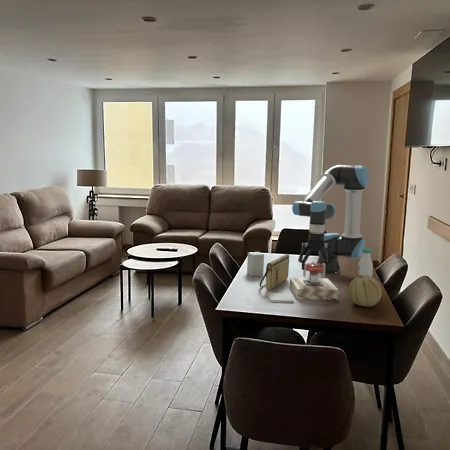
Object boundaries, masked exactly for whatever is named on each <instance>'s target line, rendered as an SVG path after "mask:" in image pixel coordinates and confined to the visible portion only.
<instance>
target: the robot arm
mask: <svg viewBox="0 0 450 450" xmlns="http://www.w3.org/2000/svg"><path fill="white" fill-rule="evenodd" d="M369 182H370V172H369V169H368V168H367V167H366V166H364V165H357V164H355V165H354V164H347V165H346V164H336V165H334V166H331V167H330V168H328V169H326V170H325V171H324V172H322V174H321V175H320V177H319V180H318V181H317V182H316V183H315V185H314V186H313V187H312V188H311V190H310V191H309V192H307V194H306V195H305V196H304V198H302V200H301V201H300V200H299V201H297V200H296V201H294V202H293V204H292V207H291V209H292V210H291V211H292V213H293V215H295V216H299V217H307V218H309V228H308V231H309V232H308V240H307V242H301V250H300V254H299V256H298V258H297V259H298V260H297V262H298V263H301V270H302V276H303V278H307V277H306V276H307V270H306V263H307V260H308V259H309V257H310V255H311V254H312V252H318V258H317V260H316V263H319V264H322V265H324V269H323V272H321V277H323V278H326V277H325V276H326V274H331V273H333V274H336V273H335V272H339V271H340V272H341V265H340V262H339V257H345V258H350V259H361V257H362V249H366V245H367V244H366V239H363V235H362V234H361V232H360V231H361V214H362V213H361V212H362V195H363V192H365V189H366V188H367V187H368V185H369ZM335 186H343V190H344V191H345V192H346V193H345V211H344V212H345V214H344V232H343V233H341V234H340V233H338V232H328V233H325V231H326V230H325V227H326V220H329V219H331V218H334V217H335V216H336V214H337V208H336V206H335V205H334V204H333V203H327V202H325V201H322V199H323V198H324V196H325V195H326V194H327V193H328V191H329V190H331V189H332V188H334V187H335ZM307 246H308V249H307V252H306V248H307ZM305 252H306V253H305ZM340 272H339V273H340Z"/></svg>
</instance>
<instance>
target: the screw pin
mask: <svg viewBox="0 0 450 450" xmlns="http://www.w3.org/2000/svg"><path fill="white" fill-rule="evenodd" d="M305 263H306V272H309V277H308V278H309V284H318V278H319V273H322V272H323V269H324V265H322V264H319V263H317V262H315V261H311V262H305Z"/></svg>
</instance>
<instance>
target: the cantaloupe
mask: <svg viewBox="0 0 450 450" xmlns="http://www.w3.org/2000/svg"><path fill="white" fill-rule="evenodd" d="M382 292H383V290H382V286H381V284H380V282H379V281H378V280H377V279H376V277H373V276H372V277H371V276H367V275H363V276H362V275H359V276H358V277H357V276H356V277H354V278H353V279H352V280H351V282H350V283H349V287H348V295H349V297H350V300H351V301H352V302H353V303H354V304H355V305H357V306H358V307H359V306H360V307H362V306H363V307H364V308H366V307H367V308H368V307H369V308H370V307H373V306H375V305H377V304H378V303H379V301H380V300H381V298H382V295H383V293H382Z"/></svg>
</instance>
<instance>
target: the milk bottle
mask: <svg viewBox="0 0 450 450" xmlns="http://www.w3.org/2000/svg"><path fill="white" fill-rule="evenodd" d="M371 255H372V250H371V249H369V248H365V249H362V256H361V257H360V258H359V261H358V264H357V272H356V273H357V274H356V277H358V276H359V275H362V276H363V275H367V276H371V277H373V268H374V267H373V265H374V264H373V263H374V262H373V260H372V257H371Z"/></svg>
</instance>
